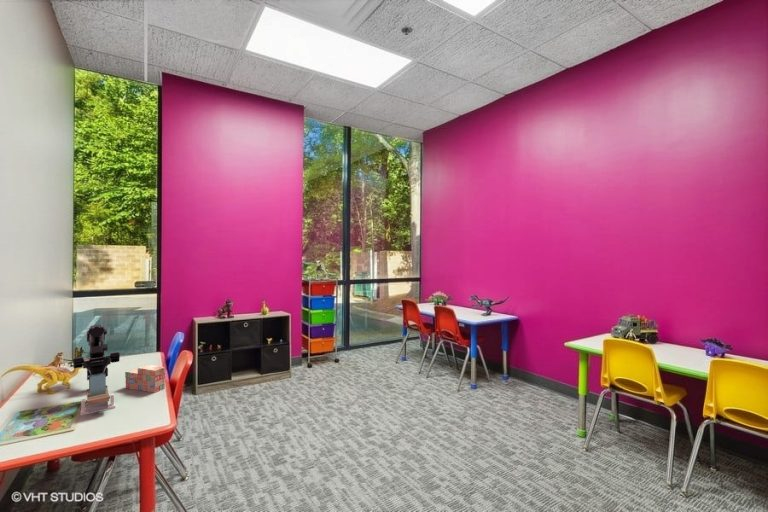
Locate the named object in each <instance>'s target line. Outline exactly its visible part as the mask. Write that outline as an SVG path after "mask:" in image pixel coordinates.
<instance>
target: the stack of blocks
mask: <svg viewBox="0 0 768 512" xmlns="http://www.w3.org/2000/svg"><path fill="white" fill-rule="evenodd" d="M165 368H166V367H164V366H160V365H154V364H153V365H151V364H146V365H144V366H140V367H137V368H133V369H132V368H131V370H130V369H129V370H127V371H125V372H124V377H125V389H128V388H130V390H134V389H137V390H136V391H140V390H143V391H142V392H146V391H148V392H147V393H152V392H153V394H156V393H158V392H160V390H161V391H163V390H165V387H166V385H165V383H166V381H165V378H166V376H165V375H166V374H165V373H166V372H165V371H166V369H165Z"/></svg>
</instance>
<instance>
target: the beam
mask: <svg viewBox="0 0 768 512" xmlns="http://www.w3.org/2000/svg"><path fill="white" fill-rule="evenodd" d="M86 393H87V395H86V398H87V399H85V404H86V406H88V408H89V412H93V411H98V410H103V409H107V408H108V404H109V402H110V400H111V398H110V394H109V389H108V386H107V387H106V393H105V394H100V395H94V396H90V390H87V389H86ZM103 411H104V410H103Z"/></svg>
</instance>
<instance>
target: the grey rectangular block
mask: <svg viewBox="0 0 768 512" xmlns="http://www.w3.org/2000/svg"><path fill="white" fill-rule="evenodd" d="M106 378H107V376H106V374H105V373H101V374H95V375H90V396H94V395H100V394H105V393H106V386H107V385H106V384H107V381H106Z"/></svg>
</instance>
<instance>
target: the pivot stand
mask: <svg viewBox="0 0 768 512" xmlns="http://www.w3.org/2000/svg"><path fill="white" fill-rule="evenodd" d="M114 395H115V393H110V394H109V396H110V403H108V408H107V409H103V410H98V411H93V412H89V407H86V399H85V398H83V399H81V409H80V416H83V415H88V414H93V413H98V412H99V413H100V412H103V411H107V410H112V409H116V403H115V401H114V400H115V396H114Z"/></svg>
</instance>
